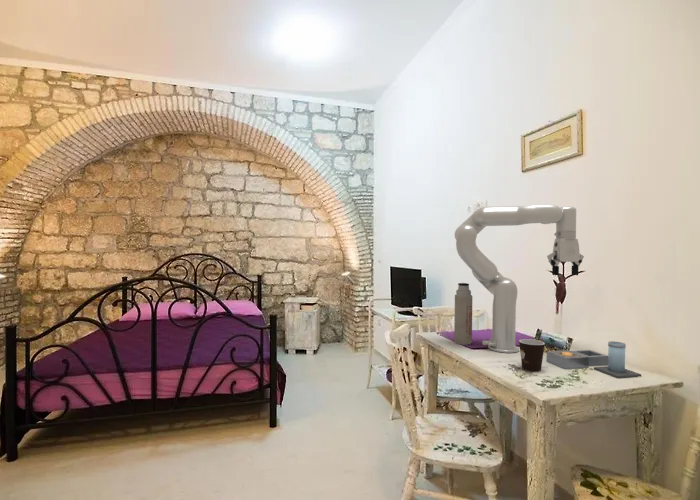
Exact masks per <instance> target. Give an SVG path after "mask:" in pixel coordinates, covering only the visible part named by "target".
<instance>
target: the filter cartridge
mask: <svg viewBox="0 0 700 500" xmlns="http://www.w3.org/2000/svg"><path fill="white" fill-rule="evenodd" d="M626 346H627V345H626V343H625V342H622V341H621V342H620V341H615V340H614V341H613V340H611V341H608V342H607V347H608V352H607V353H608V355H607V356H608V365H607V366H608V370H609V371H612V372H616V373H624V372H625V369H626V366H625V365H626V348H627V347H626Z"/></svg>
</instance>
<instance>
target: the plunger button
mask: <svg viewBox="0 0 700 500" xmlns="http://www.w3.org/2000/svg"><path fill="white" fill-rule="evenodd" d="M562 355H565V356H572V353H570V352H562Z"/></svg>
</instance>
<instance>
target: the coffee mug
mask: <svg viewBox="0 0 700 500" xmlns="http://www.w3.org/2000/svg"><path fill="white" fill-rule="evenodd" d="M518 341H519V352H520V360H521V361H520V362H521V368H522V369H523V370H525V371H528V372H532V373H533V372H534V373H535V372H537V373H538V372H541V371H542V365H543V360H544V350H545V342H544V341H542V340H537V339H530V338H529V339H528V338H525V339H519V340H518Z"/></svg>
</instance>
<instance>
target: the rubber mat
mask: <svg viewBox="0 0 700 500" xmlns="http://www.w3.org/2000/svg"><path fill="white" fill-rule="evenodd" d="M593 370H594V371H597V372H600V373H602V374H606V375H608V376H610V377H613V378H615V379H629V378H639V377H638V376H641V377H642V374H641V373H639V372H636V371H633V370H630V369H627V368H625V372H624V373H616V372H612V371H609V370H608V365H603V366H593Z"/></svg>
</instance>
